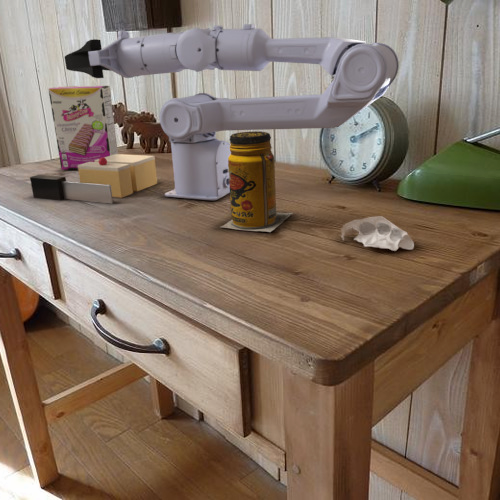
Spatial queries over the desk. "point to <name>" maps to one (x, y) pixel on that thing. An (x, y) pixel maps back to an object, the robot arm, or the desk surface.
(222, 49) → the robot arm
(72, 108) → the candy bar box
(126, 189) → the cake slice
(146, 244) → the desk surface
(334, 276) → the desk surface
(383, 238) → the white irregular chunk
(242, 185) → the condiment
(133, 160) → the cake
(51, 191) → the knife
